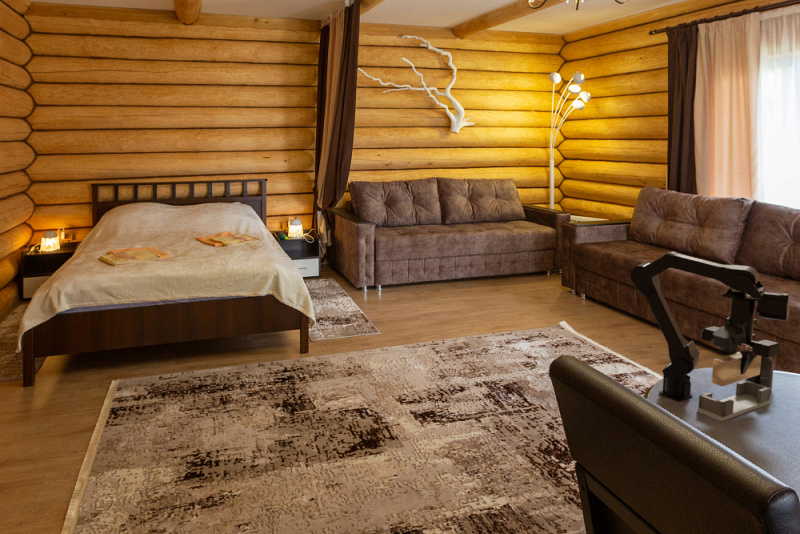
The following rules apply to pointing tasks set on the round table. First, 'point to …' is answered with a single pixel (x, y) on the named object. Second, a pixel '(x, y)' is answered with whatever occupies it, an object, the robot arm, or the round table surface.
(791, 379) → the round table surface
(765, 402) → the slat rail
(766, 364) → the supplement bottle
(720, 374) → the slat
